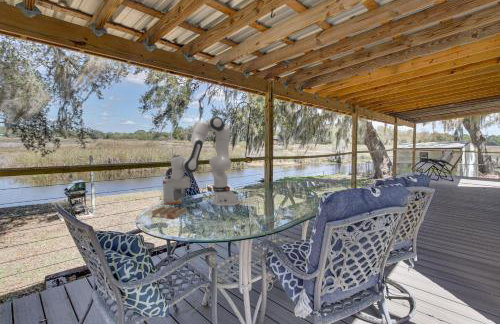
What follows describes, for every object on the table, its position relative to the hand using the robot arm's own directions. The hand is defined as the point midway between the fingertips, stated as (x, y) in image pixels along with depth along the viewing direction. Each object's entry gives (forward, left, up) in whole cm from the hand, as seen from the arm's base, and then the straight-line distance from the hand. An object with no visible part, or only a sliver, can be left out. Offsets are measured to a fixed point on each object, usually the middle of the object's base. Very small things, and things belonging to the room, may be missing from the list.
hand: (179, 193), depth 221 cm
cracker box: (+14, -12, -12) cm, 21 cm away
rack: (-2, +18, -12) cm, 22 cm away
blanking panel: (0, 0, -4) cm, 4 cm away
